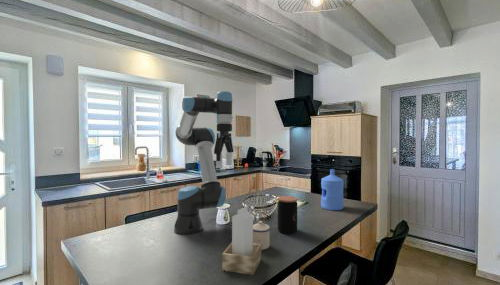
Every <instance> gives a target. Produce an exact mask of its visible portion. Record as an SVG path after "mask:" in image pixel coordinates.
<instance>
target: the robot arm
mask: <svg viewBox="0 0 500 285" xmlns="http://www.w3.org/2000/svg"><path fill="white" fill-rule="evenodd" d="M181 102H182V104H181V109H182V112H183V114H182V116H181V119H180V121H179V124H178V126H176V129H175V137H176V139H177V141H179V142H180V143H181V144H183V145H184V146H185V145H186V146H194V148H195V150H196V151H197V153H198V161H199V166H200V173H201V180H202V184H201V186H199V185H189V186H183V187H181V188H180V189H178V191H177V198H176V199H177V217H176V220H175V223H174V225H173V229H174V232H175V233H176V234H180V235H191V234H192V235H193V234H197V233H199V232H201V231H202V229H203V223H202V220H201V216H200V210H208V209H215V208H216V209H217V208H221V207H224V205H225V202H226V196H227V195H226V194H227V193H226V188H225V186H223V185H221V182H220V181H219V180H218V176H217V173H216V172H217V171H216V169H223V153H222V152H223V148H224V146H225V150H226V155H225V156H226V157H225V159H226V160H225V165H226V166H231V165H232V164H233V159H232V157H233V154H232V153H234V146H233V139H232V133H230V132H232V131H233V124H232V122H233V118H234V117H233V94H232V92H230V91H227V90H226V91H224V90H223V91H218V92H217V93H216V98H213V97H212V98H211V97H198V96H184V97H182V101H181ZM199 113H205V114H206V113H208V114H209V113H212V114H214V115H215V114H216V132H217V133H216V136H215V132H214V130H213V129H212V128H210V127H194V125H195V122H196V120H197V118H198V116H199ZM213 147H214V149H213V150H212V148H213ZM213 153H214V155H215V161H214V155H213Z"/></svg>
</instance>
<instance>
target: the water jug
mask: <svg viewBox="0 0 500 285" xmlns="http://www.w3.org/2000/svg"><path fill="white" fill-rule="evenodd" d="M335 174H336V171H335V169H334V168H331V169H330V170H329V174H328V175H326V176H324V177H322V178H321V182H320V185H321V187H320V188H321V196H320V207H321V208H322V209H325V210H327V211H342V210H343V209H344V186H345V184H344V183H345V182H344V179H343V178H341V177H339V176H337V175H335Z"/></svg>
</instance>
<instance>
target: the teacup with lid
mask: <svg viewBox="0 0 500 285" xmlns="http://www.w3.org/2000/svg"><path fill="white" fill-rule="evenodd" d="M270 232H271V226H270V225H268V224H266V223H263V221H262V220H259V221H258V223H253V243H255V244H261V251H264V250H267V249H268V248H270V239H271V238H270V237H271V236H270V234H271V233H270Z"/></svg>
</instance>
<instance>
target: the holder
mask: <svg viewBox="0 0 500 285" xmlns="http://www.w3.org/2000/svg"><path fill="white" fill-rule="evenodd" d="M261 260H262V250H261V244H255V243H253V256H252V257H250V256H243V255H235V254H232V241H231V242H230V243H229V245H228V246H227V247H226V249H225V250H224V251H223V252H222V254H221V271H224V270H225V272H232V273H238V274H245V275H251V276H254V275H255V274H256V271H257V269H258V266H259V265H260V264H261Z"/></svg>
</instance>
